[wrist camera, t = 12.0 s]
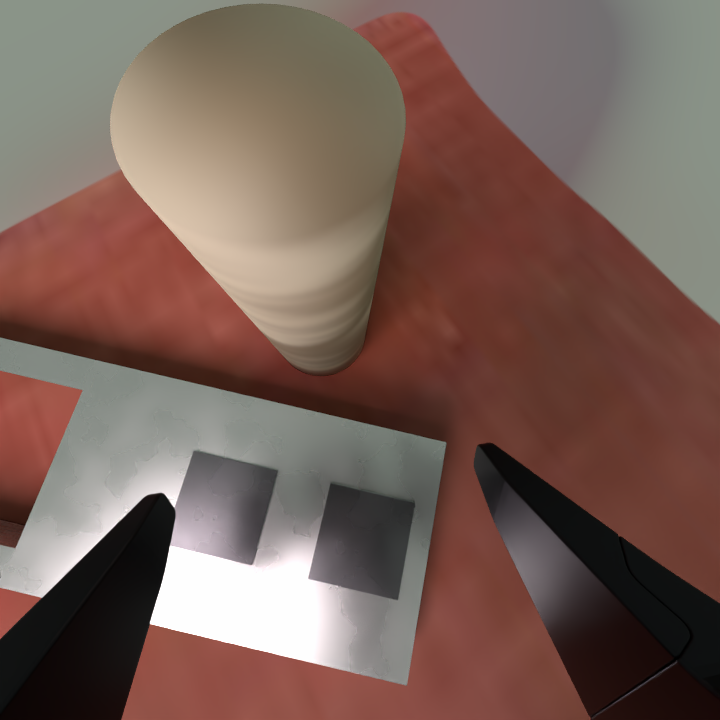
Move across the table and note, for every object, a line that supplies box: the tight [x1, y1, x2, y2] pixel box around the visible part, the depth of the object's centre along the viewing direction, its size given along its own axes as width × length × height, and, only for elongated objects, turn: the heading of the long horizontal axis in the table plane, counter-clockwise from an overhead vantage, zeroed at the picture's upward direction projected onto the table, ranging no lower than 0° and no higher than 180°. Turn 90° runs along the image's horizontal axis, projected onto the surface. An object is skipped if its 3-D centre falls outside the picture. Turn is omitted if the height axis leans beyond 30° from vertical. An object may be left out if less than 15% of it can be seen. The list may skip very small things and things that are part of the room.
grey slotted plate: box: [0, 338, 446, 685], centre depth 15 cm, size 10×26×2 cm, turn 77°
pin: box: [110, 4, 406, 376], centre depth 12 cm, size 5×5×13 cm
